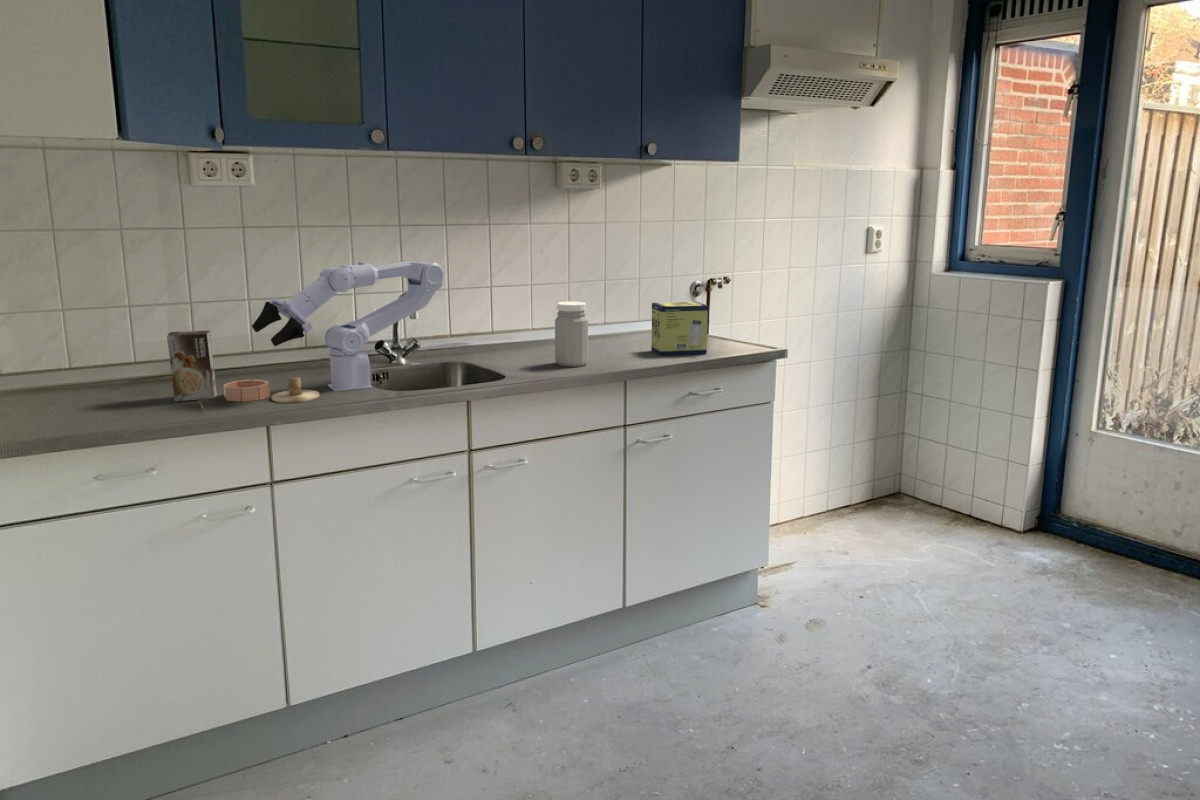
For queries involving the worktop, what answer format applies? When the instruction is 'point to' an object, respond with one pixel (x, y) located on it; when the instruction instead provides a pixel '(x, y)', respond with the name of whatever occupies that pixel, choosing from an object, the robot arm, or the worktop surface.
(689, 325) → the protein box
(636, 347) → the worktop surface
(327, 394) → the worktop surface
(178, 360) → the coffee box
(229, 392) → the bowl
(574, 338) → the jar
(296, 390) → the lid
